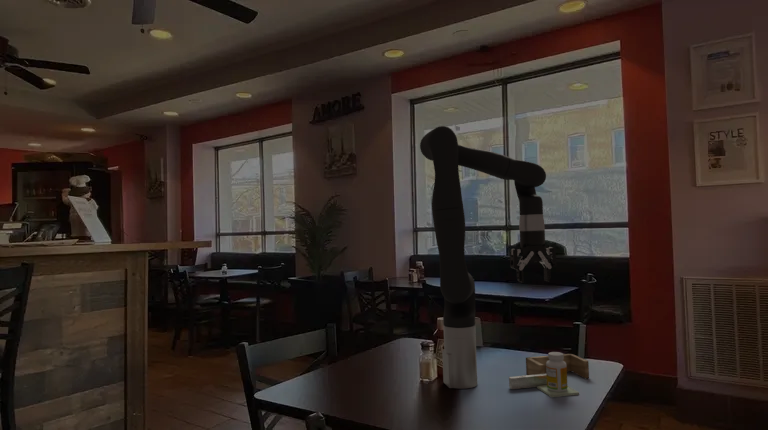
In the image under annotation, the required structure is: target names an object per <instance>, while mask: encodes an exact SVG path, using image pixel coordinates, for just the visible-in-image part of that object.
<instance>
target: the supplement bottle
mask: <svg viewBox="0 0 768 430" xmlns="http://www.w3.org/2000/svg"><path fill="white" fill-rule="evenodd" d="M563 354H564V353H563V352H559V351H551V352H548V354H547V356H548V358H549V360H548V361H547V362H546V373H545V374H546V375H547V389H548V390H550V391H554V392H564V391H566V390H567V389H568V386H569V385H568V371H567V365H566V363H565V362H564V361H563V359H564V355H563Z"/></svg>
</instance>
